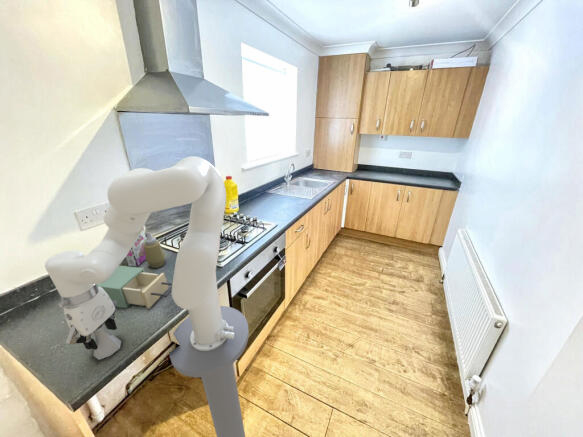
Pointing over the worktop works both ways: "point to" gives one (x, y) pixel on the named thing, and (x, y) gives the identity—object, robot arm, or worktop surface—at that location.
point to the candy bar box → (137, 251)
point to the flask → (105, 343)
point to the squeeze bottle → (153, 252)
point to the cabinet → (120, 283)
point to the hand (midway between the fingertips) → (102, 337)
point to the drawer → (146, 289)
